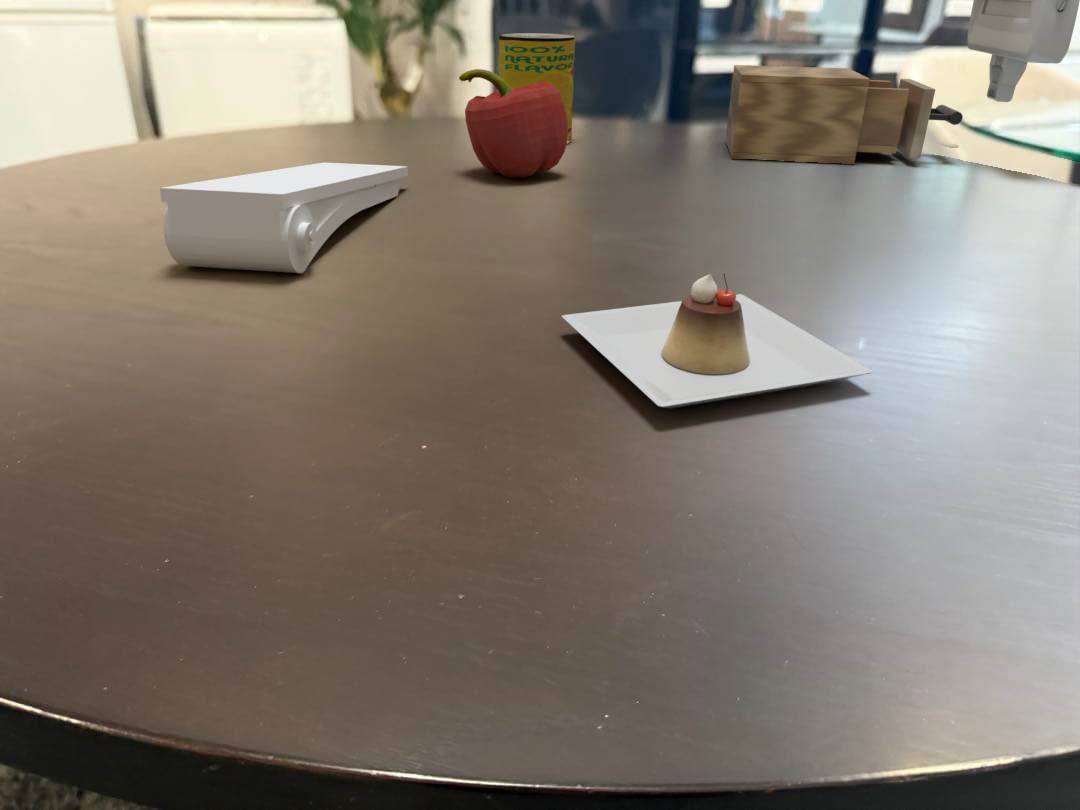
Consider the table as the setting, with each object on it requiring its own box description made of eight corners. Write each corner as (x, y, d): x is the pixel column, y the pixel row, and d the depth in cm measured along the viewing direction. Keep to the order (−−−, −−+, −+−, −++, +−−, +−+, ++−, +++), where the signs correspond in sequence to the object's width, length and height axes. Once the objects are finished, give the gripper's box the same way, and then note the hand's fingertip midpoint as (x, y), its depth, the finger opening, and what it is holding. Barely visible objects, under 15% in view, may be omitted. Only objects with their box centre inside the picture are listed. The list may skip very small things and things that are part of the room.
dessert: (870, 391, 42) (891, 301, 40) (657, 428, 38) (666, 330, 36) (739, 310, 52) (749, 234, 50) (560, 333, 48) (562, 252, 46)
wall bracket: (329, 241, 82) (175, 302, 56) (307, 166, 80) (137, 193, 54) (425, 220, 80) (312, 274, 54) (405, 143, 78) (278, 159, 52)
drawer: (933, 143, 102) (947, 80, 99) (959, 160, 93) (976, 90, 90) (793, 138, 104) (803, 75, 101) (805, 153, 95) (816, 85, 91)
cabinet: (835, 146, 104) (849, 68, 100) (854, 164, 94) (870, 78, 90) (725, 141, 106) (734, 64, 102) (731, 159, 96) (741, 74, 91)
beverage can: (579, 146, 101) (584, 38, 96) (506, 147, 99) (507, 37, 94) (561, 133, 109) (564, 33, 103) (493, 135, 107) (492, 32, 102)
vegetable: (449, 181, 82) (446, 73, 78) (473, 161, 92) (471, 63, 87) (558, 187, 81) (561, 77, 76) (572, 166, 90) (575, 67, 86)
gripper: (1113, -40, 78) (1066, 114, 85) (1029, -36, 97) (996, 91, 103) (1042, -42, 79) (1001, 111, 85) (972, -38, 97) (943, 89, 104)
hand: (998, 100), depth 94 cm, fingers closed
